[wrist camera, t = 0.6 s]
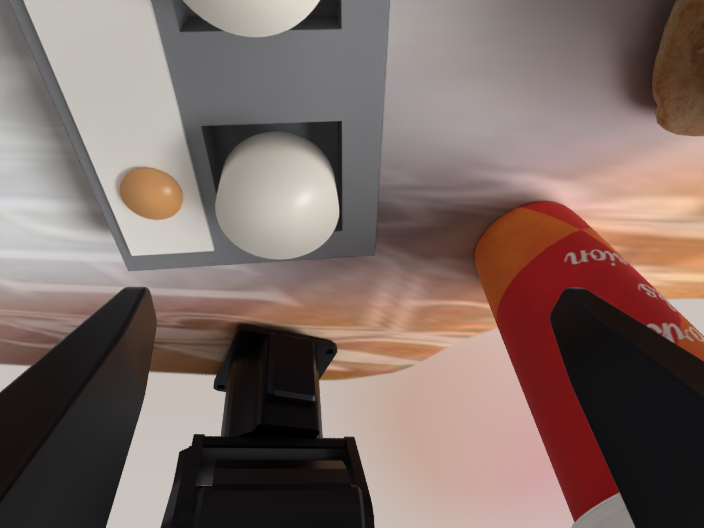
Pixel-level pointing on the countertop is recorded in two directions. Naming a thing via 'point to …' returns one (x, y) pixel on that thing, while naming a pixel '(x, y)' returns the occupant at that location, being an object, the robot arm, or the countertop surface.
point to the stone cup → (681, 70)
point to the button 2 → (277, 196)
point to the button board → (209, 114)
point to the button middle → (253, 15)
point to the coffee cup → (540, 344)
